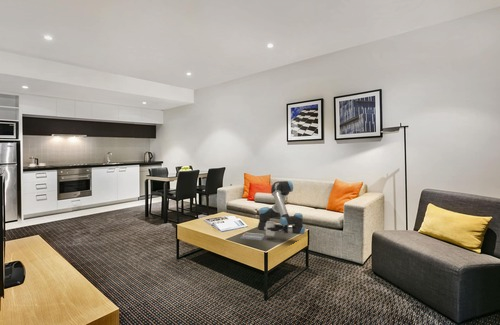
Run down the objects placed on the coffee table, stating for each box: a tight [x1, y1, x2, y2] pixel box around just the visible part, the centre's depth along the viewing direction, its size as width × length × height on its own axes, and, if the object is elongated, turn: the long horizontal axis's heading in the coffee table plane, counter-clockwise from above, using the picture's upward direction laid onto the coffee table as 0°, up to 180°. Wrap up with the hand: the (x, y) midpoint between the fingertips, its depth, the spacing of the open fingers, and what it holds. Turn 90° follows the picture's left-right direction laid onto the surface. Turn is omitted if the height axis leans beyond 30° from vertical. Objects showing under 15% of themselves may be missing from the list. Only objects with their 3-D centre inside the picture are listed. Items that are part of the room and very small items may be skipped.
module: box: [265, 220, 276, 237], centre depth 255 cm, size 6×8×13 cm
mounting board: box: [239, 231, 267, 242], centre depth 262 cm, size 16×22×2 cm
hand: (265, 227), depth 257 cm, fingers closed on module, 6 cm apart
